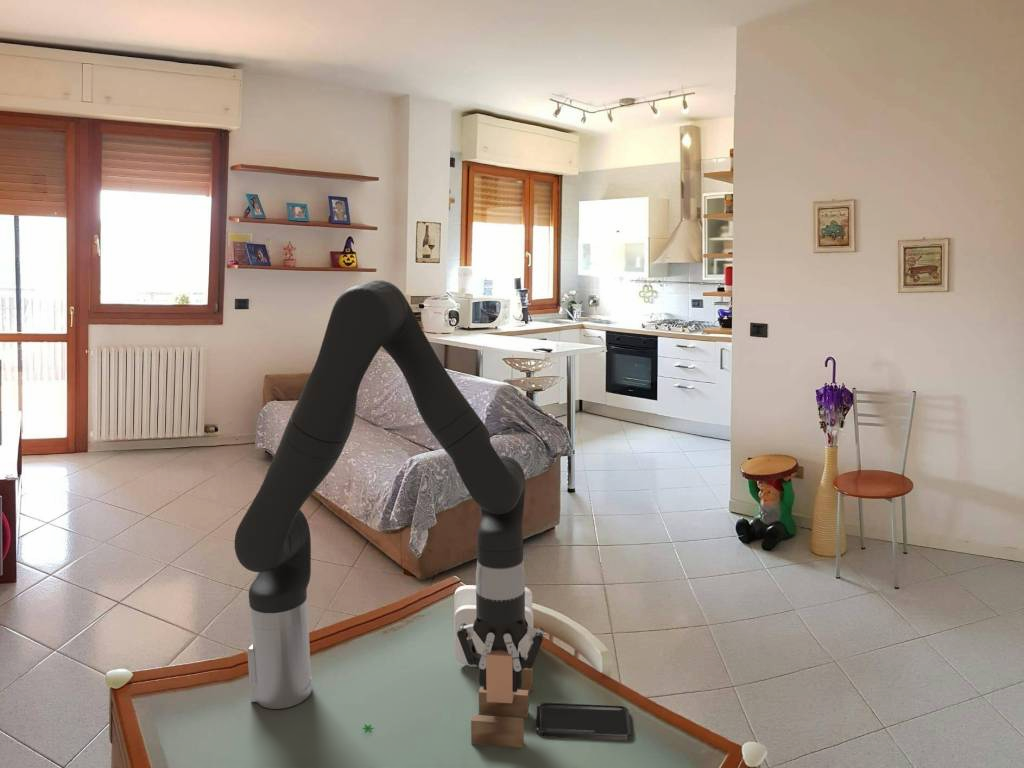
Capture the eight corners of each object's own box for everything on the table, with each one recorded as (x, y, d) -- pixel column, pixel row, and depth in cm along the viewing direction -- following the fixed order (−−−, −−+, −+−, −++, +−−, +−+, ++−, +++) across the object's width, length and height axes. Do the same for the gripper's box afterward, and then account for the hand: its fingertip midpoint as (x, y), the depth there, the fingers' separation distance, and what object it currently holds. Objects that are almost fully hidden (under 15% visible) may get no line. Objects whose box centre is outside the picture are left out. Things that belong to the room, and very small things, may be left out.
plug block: (486, 701, 121) (486, 654, 119) (490, 687, 125) (489, 641, 123) (512, 703, 120) (511, 656, 119) (515, 688, 124) (514, 642, 123)
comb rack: (471, 743, 120) (471, 720, 119) (486, 683, 136) (486, 662, 135) (522, 747, 119) (522, 724, 118) (532, 686, 135) (532, 665, 134)
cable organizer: (450, 668, 141) (449, 609, 138) (455, 638, 151) (455, 582, 149) (532, 669, 140) (533, 610, 138) (532, 639, 151) (533, 583, 148)
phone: (537, 702, 129) (628, 706, 128) (537, 708, 129) (627, 712, 128) (535, 732, 121) (631, 736, 120) (535, 738, 122) (631, 742, 121)
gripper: (450, 595, 116) (452, 699, 119) (544, 600, 115) (544, 705, 118) (459, 574, 123) (461, 672, 127) (548, 578, 122) (547, 677, 125)
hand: (501, 687), depth 122 cm, fingers closed on plug block, 4 cm apart
